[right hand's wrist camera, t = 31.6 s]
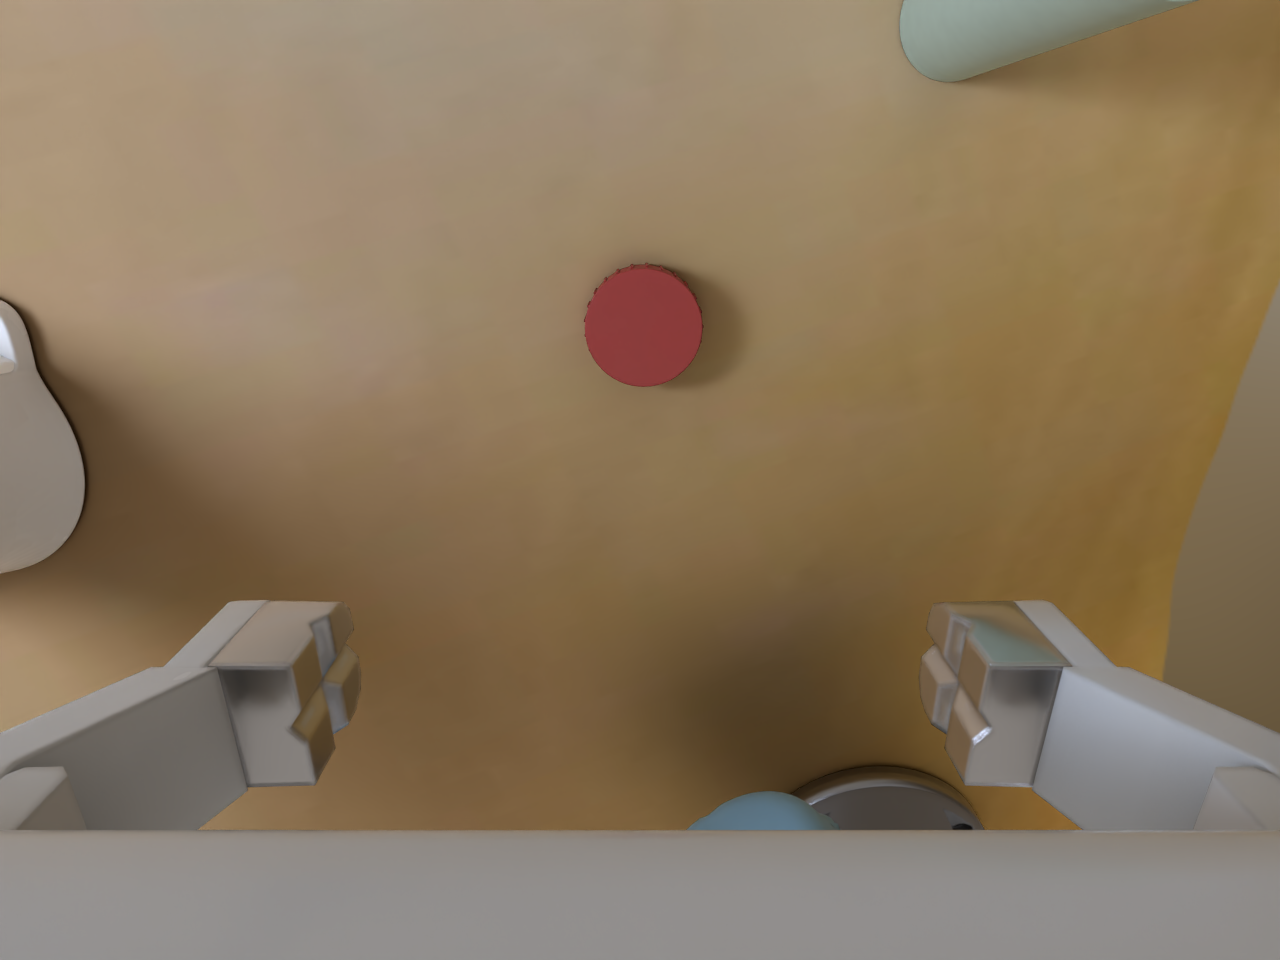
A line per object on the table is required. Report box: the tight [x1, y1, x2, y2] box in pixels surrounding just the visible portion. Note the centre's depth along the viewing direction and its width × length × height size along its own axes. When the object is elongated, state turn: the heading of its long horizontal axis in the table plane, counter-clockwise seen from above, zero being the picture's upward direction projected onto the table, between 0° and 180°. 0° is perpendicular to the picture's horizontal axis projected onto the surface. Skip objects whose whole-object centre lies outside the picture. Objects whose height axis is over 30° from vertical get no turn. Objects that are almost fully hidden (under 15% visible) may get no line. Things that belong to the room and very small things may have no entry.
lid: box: [584, 263, 703, 387], centre depth 35 cm, size 6×6×2 cm
